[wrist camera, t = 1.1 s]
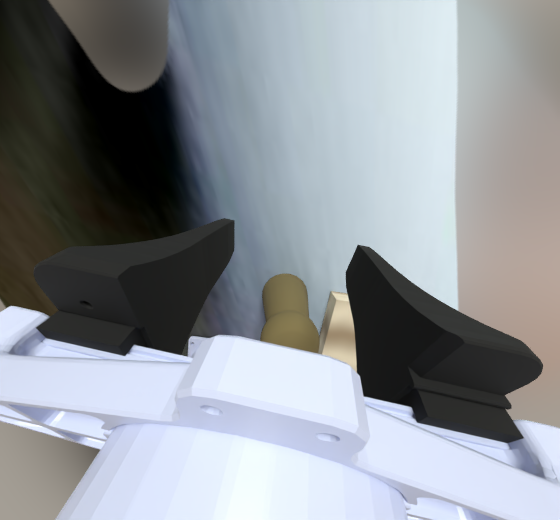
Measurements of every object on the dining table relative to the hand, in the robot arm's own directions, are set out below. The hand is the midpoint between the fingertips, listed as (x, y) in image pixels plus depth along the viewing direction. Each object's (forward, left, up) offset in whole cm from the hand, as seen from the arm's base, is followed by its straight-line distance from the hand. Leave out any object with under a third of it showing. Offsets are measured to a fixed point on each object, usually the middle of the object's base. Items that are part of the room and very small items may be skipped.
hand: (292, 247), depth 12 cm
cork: (-9, -2, -13) cm, 16 cm away
